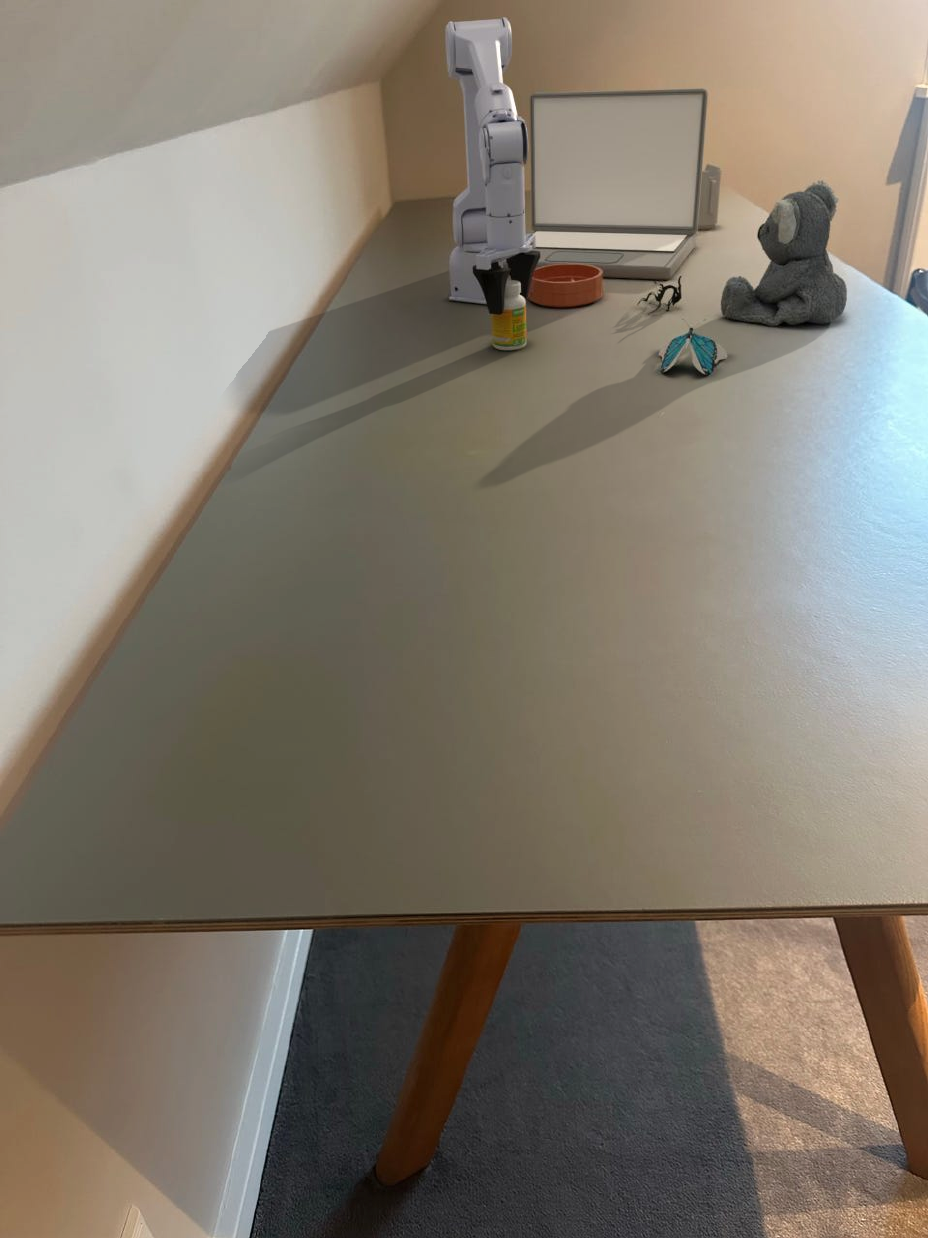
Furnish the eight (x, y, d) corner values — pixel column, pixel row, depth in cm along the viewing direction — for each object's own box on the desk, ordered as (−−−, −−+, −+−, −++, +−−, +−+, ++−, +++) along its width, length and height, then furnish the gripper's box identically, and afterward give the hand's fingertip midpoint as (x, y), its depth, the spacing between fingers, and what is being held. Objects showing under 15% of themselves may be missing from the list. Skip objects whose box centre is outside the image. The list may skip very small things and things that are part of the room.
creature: (637, 321, 159) (685, 311, 157) (632, 290, 157) (680, 278, 154) (640, 308, 166) (685, 297, 163) (634, 277, 163) (681, 266, 160)
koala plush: (767, 294, 164) (782, 172, 153) (866, 311, 153) (889, 181, 142) (711, 318, 155) (723, 190, 144) (812, 338, 144) (833, 201, 133)
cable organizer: (699, 218, 217) (703, 161, 210) (723, 229, 207) (728, 169, 200) (672, 222, 216) (675, 164, 209) (694, 232, 206) (699, 173, 199)
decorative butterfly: (648, 349, 132) (660, 311, 138) (647, 388, 137) (659, 350, 143) (721, 353, 129) (731, 314, 135) (718, 393, 134) (728, 353, 140)
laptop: (489, 274, 187) (482, 109, 171) (533, 241, 208) (531, 92, 192) (669, 281, 175) (680, 105, 159) (696, 246, 196) (709, 87, 180)
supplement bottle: (516, 352, 146) (514, 289, 141) (486, 348, 149) (483, 285, 143) (532, 342, 150) (531, 280, 145) (503, 338, 152) (501, 276, 147)
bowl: (515, 304, 168) (514, 278, 166) (550, 285, 177) (549, 260, 175) (581, 312, 162) (582, 285, 160) (614, 292, 171) (614, 266, 169)
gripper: (504, 225, 131) (507, 322, 139) (552, 204, 141) (553, 296, 149) (461, 222, 135) (467, 317, 142) (512, 202, 145) (514, 292, 152)
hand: (508, 306), depth 146 cm, fingers open, 7 cm apart
